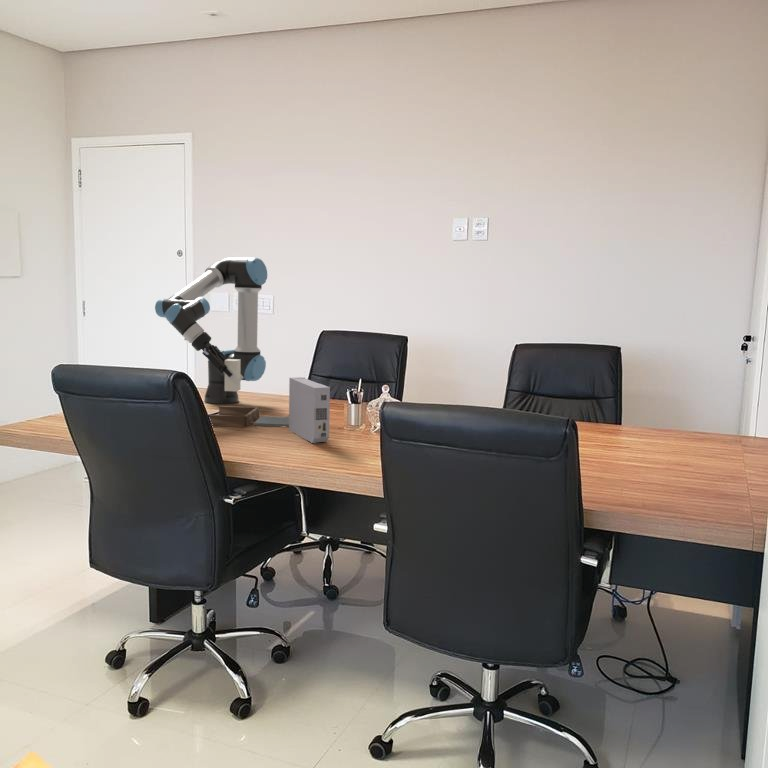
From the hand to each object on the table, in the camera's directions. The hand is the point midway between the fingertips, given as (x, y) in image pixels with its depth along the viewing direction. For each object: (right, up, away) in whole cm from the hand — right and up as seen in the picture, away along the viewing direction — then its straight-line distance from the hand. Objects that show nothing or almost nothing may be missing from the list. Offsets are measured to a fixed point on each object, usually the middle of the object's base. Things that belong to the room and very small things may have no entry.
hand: (239, 380), depth 302 cm
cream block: (-3, -4, +1) cm, 5 cm away
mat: (+14, -16, +1) cm, 21 cm away
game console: (+29, -20, -23) cm, 43 cm away
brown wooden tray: (-3, -16, +2) cm, 16 cm away
